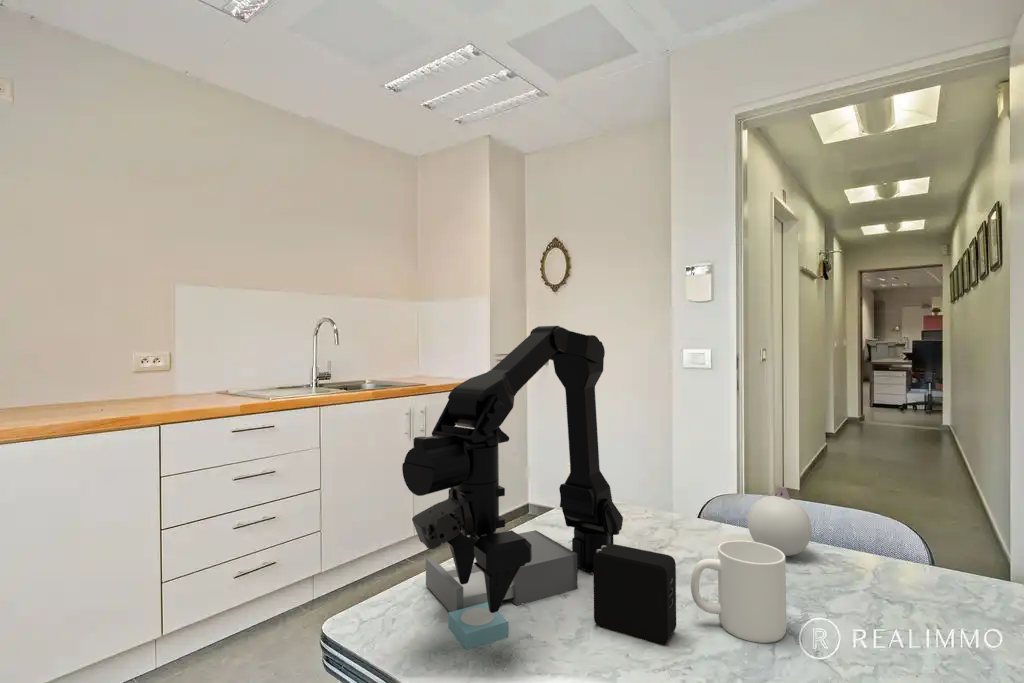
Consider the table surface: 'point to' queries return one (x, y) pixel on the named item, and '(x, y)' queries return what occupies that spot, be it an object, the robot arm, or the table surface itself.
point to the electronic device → (635, 592)
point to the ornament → (780, 523)
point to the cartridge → (477, 626)
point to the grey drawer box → (545, 570)
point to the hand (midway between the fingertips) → (478, 597)
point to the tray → (458, 586)
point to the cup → (747, 590)
